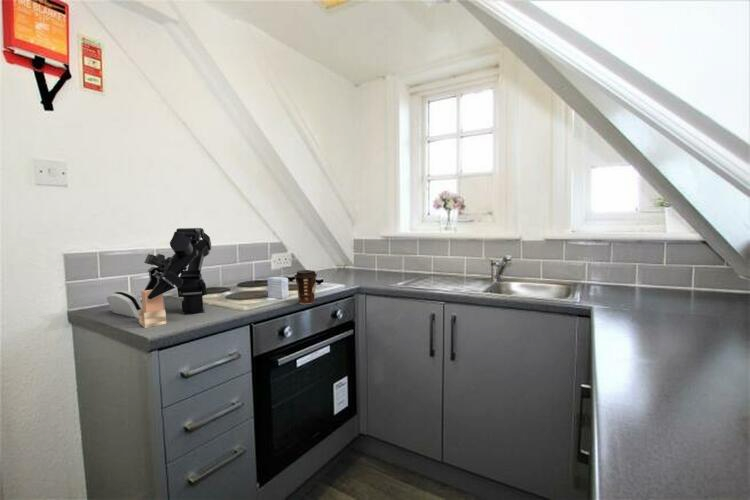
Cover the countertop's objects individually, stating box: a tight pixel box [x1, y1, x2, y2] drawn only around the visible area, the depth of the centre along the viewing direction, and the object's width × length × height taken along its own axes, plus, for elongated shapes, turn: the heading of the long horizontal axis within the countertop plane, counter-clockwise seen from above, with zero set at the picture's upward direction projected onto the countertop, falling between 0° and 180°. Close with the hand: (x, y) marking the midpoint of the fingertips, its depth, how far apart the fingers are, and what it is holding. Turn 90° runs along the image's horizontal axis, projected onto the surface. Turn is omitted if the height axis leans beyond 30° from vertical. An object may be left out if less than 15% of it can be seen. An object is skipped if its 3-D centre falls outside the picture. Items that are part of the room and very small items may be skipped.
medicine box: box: [267, 276, 289, 300], centre depth 156 cm, size 8×4×9 cm, turn 65°
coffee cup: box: [294, 269, 318, 305], centre depth 145 cm, size 9×8×13 cm
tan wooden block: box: [138, 309, 167, 329], centre depth 118 cm, size 6×8×4 cm
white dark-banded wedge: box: [106, 290, 143, 319], centre depth 130 cm, size 17×5×10 cm, turn 61°
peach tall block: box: [140, 289, 166, 321], centre depth 118 cm, size 5×4×10 cm
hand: (145, 297), depth 117 cm, fingers open, 6 cm apart
